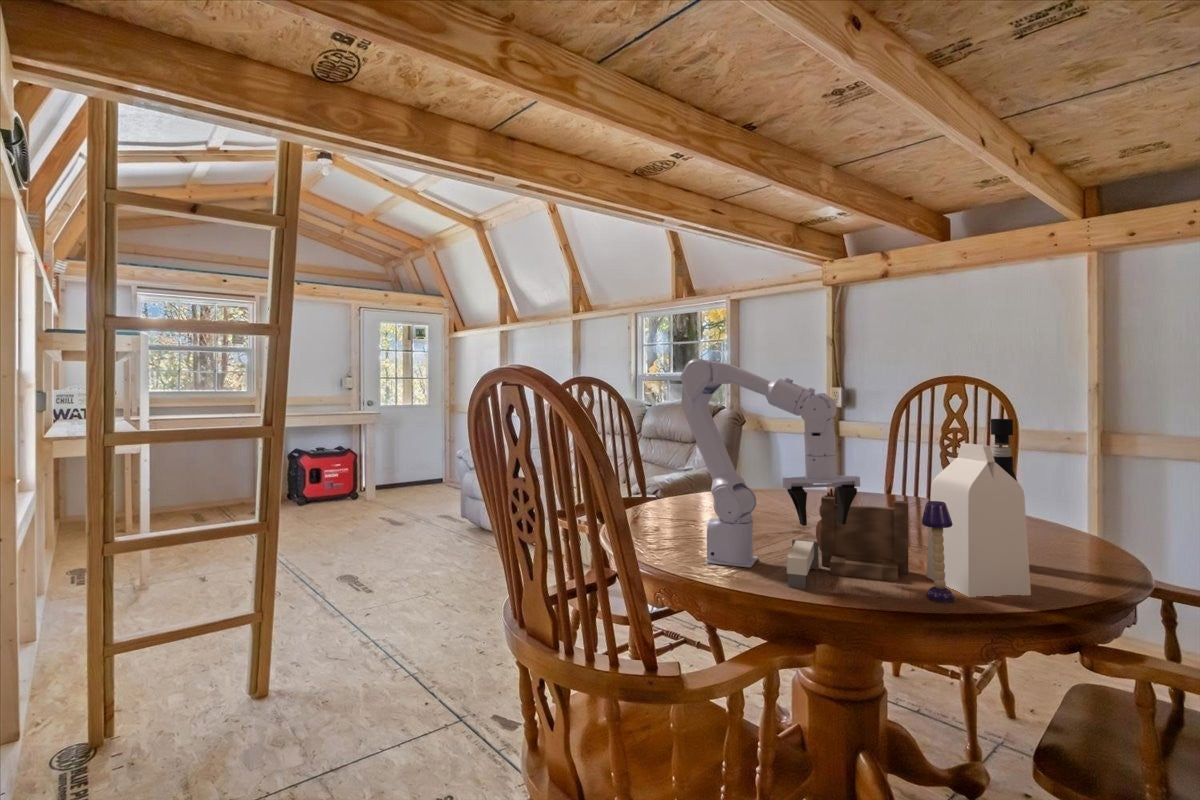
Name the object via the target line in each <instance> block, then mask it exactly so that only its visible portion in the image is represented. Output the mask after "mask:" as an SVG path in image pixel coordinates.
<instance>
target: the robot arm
mask: <svg viewBox="0 0 1200 800" xmlns="http://www.w3.org/2000/svg"><path fill="white" fill-rule="evenodd" d="M679 378H680V381H681V383H682V385H681V401H680V402H681V409H682V411H683V413H684V415H685V418H686V421H687V423H688V425H689V428H690V430H691V432H692V435H693V437H694V440H695V442H696V443H697V447H698V448H699V451H700V454H701V456H702V459H703V461H704V463H705V466H706V468H707V471H708V472H709V475H710V477H711V479H712V483H711V488H710V489H711V490H710V492H711V495H712V496H713V497H712V498H713V510H714V513H715V514H716V515H717V518H710V519H709V520H708V522H707V526H706V560H705V562H706V563H707V564H715V565H724V566H732V567H742V568H752V567H753V566H754V565H755V563H756V562H757V560H758V558H759V557H758V556H757V555H754V518H753V515H752V512H754V510H755V508H756V506H757V497H756V494H755V493H754V491H753V489H751V488H750V487H749V486H748V485H747V484H746V481H745V479H744V478H743V477H742V475H740V474H739V473H738V472H737V471H736V468H735V466H734V465H733V462H732V460H731V459H732V458H731V457H730V455H729V453H728V450H727V448H726V446H725V443H724V441H723V439H722V436H721V434H720V432H719V430H718V427H717V425H716V423H715V420H714V417H713V415H712V413H711V411H710V409H709V403H710V402H711V400H712V397H713V395H714V394H715V393H716V392H717V390H718V389H719V388H720V387H721V386H722V385H729V384H733V385H736V386H738V387H741V388H743V389H746V390H749V391H752V392H755V393H757V394H760V395H763V396H765V398H766V400H767V402H768V404H769V405H770V406H773V407H775V408H777V409H780V410H783V411H785V412H788V413H790V414H792V415H794V416H798V417H799V416H800V417H801V418H802V420H803V421H804V422H803V423H804V434H803V435H804V436H803V437H804V438H803V439H804V463H805V464H804V465H805V476H794V477H782V488H784V489H785V490H787V494H788V495H789V497H790V498H791V500H792V503H793V504H794V508H795V509H796V513H797V516H798V520H799V525H801V526H803V527H804V526H807V522H808V519H807V518H808V517H807V500H808V499H807V498H808V492H807V491H805V489H808V488H810V489H811V488H812V489H813V488H832V487H833V488H834V491H835V490H836V496H837V503H838V522H839V523H840V524H842V525H844V524H846V520H847V515H848V512H849V508H850V506H851V505H852V503H853V501H854V499H855V497H856V496H857V494H858V493H857V492H858V488H857V487H861V477H860V476H857V475H837V456H836V455H837V454H836V431H835V419H834V417H835V416H836V414H837V410H838V408H837V407H838V406H837V403H836V401H835V399H834V398H832V397H831V396H829V395H828V394H827V393H823V392H822V393H816V389H815V388H813V387H809V388H806V387H803V386H802V385H801V386H800V385H798V384H796V383H793V382H794V379H791V378H789V377H785V378H784V379H783V378H778V379H775V380H773V381H771V380H768V379H766V378H764V377H762V376H759V375H757V374H756V373H752V372H750V371H748V370H746V369H744V368H741V367H739V366H736V365H733V364H730V363H725V362H720V361H718V360H712V359H710V360H708V359H706V360H705V359H702V358H693V359H691V360H689V361H688V362H687V363H686V364H685V365H684V368H683V369H682V372H681V374H680V375H679Z"/></svg>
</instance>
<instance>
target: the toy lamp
mask: <svg viewBox="0 0 1200 800" xmlns="http://www.w3.org/2000/svg"><path fill="white" fill-rule="evenodd" d="M921 525H922V526H923V527H928V528H929V527H932V533H933V536H932V541H933V546H932V548H933V551H934V552H933V559H934V562H933V567H934V569H935V570H934V577H935V580H933V584H934V586H932V587H929V589H928V590H927V591H926V594H925V596H926V598H927V599H929V600H930V601H934V602H939V603H952V602H954V601H955V595H954V594H953V592H952V591H951V589H950V588H948V587H946V582H945V580H944V579H945V572H944V569H945V564H944V562H943V561H944V558H945V557H944V553H943V551H944V546H943V541H944V538H943V535H942V534H943V528H948V527H951V526H952V520H951V517H950V514H949V511H948V508H947V505H946V503H945V502H941V501H927V502H926V503H925V506H924V511H923V516H922V519H921Z"/></svg>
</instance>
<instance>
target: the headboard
mask: <svg viewBox="0 0 1200 800" xmlns="http://www.w3.org/2000/svg"><path fill="white" fill-rule="evenodd" d="M820 504H821V505H820V506H821V516H820V520H821V530H822V552H821V567H829V572H830V575H834V576H840V577H841V576H842V577H852V578H862V579H870V580H879V581H880V580H881V581H889V582H899V575H905V576H906V575H907V576H908V575H909V502H908V501H906V500H893V507H886V506H885V507H883V506H868V505H867V506H866V505H852V504H851V506H850V508H849V512H848V515H847V520H846V524H844V525H842V524H840V523H839V522H838V505H837V504H835V497H824V496H821V500H820Z"/></svg>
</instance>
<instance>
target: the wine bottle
mask: <svg viewBox="0 0 1200 800" xmlns="http://www.w3.org/2000/svg"><path fill="white" fill-rule="evenodd" d="M990 435H992V436H994V443H993V444H994V445H995V446H993V448H992V454H993V457H994V460H995V462H996V463H997V464H998V465H999V466H1000V467H1001V468H1002V469H1004V470H1005V471H1006V472H1007V473H1008V474H1009V475H1010V476H1011V477H1012V478H1014V479H1015V480H1016V481H1017V482H1018V479H1017V477H1016V474H1015V471H1014V457H1013V456H1012V453H1011V452H1012V449H1011V447H1006V446H1009V445H1011V444H1010V436H1013V435H1014V419H1013V418H991V419H990Z"/></svg>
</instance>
